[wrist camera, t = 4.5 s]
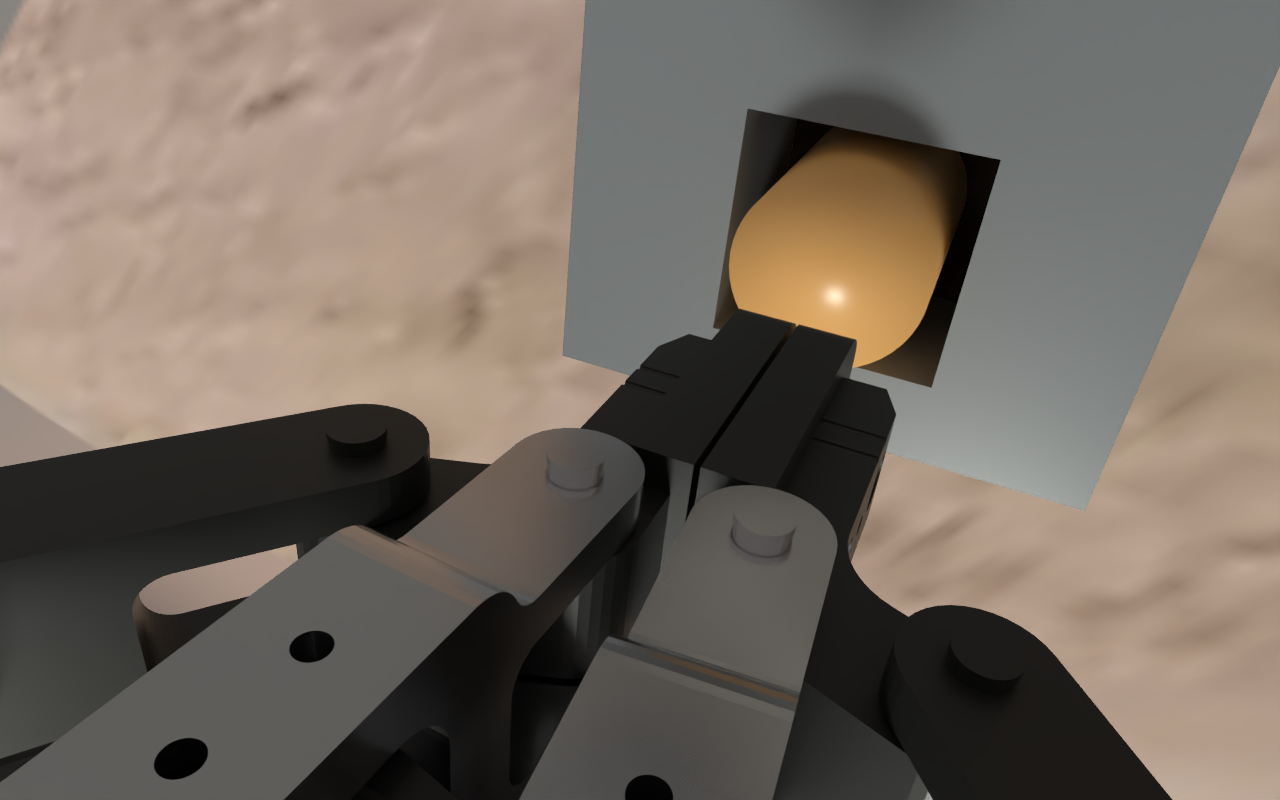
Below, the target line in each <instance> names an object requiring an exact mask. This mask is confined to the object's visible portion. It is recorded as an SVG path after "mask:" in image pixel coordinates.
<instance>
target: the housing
mask: <svg viewBox="0 0 1280 800" xmlns="http://www.w3.org/2000/svg"><path fill="white" fill-rule="evenodd" d="M1279 66H1280V0H586V2H585V17H584V33H583V48H582V64H581V79H580V94H579V110H578V125H577V141H576V156H575V171H574V187H573V202H572V218H571V233H570V249H569V264H568V279H567V295H566V310H565V326H564V341H563V356H566V357H570V358H573V359H576V360H580V361H583V362H586V363H590V364H593V365H596V366H600V367H603V368H607V369H610V370H613V371H617V372H620V373H623V374H627V375H631V374H632V373H633V372H634V371H635V370H636V369H640V365H641V364H642V363H643V362H644V361H645V360H646V359H647V358H648V356H649V355H650V354H651V353H652V352H653V351H654V350H655V349H656V348H657V347H658V346H660V345H662V344H665V343H667V342H670V341H672V340H675V339H677V338H680V337H683V336H685V335H688V334H692V335H695V336H699V337H702V338H706V339H709V340H712V339H713V338H714V336H715V335H716V334H717V333H718V332H719V331H720V329H721V328H722V327H723V326H724V325H725V323H726V322H727V321H728V320H729V319H730V318H731V316H732V315H733V314H734V313H735V312H736V311H737V310H738V309H739V308H738V306H737V304H736V301H735V299H734V295H733V292H732V289H731V283H730V277H729V260H730V251H731V247H732V242H733V239H734V237H735V234H736V231H737V229H738V227H739V225H740V223H741V222H742V220H743V218H744V217H745V215H746V214H747V213H748V211H749V210H750V209H751V208H752V207H753V206H754V205H755V204H756V203H757V202H758V201H759V200H760V199H761V198H762V197H763V196H764V195H765V194H766V193H767V192H768V191H769V190H770V189H771V188H772V187H773V186H774V185H775V184H776V183H777V182H778V181H779V180H780V179H781V178H782V177H783V176H784V175H785V174H786V173H787V172H788V168H789V163H790V157H791V152H792V146H793V141H794V136H795V130H796V125H797V119H802V120H807V121H812V122H817V123H822V124H827V125H832V126H836V127H841V128H846V129H851V130H856V131H861V132H866V133H871V134H876V135H881V136H886V137H890V138H895V139H900V140H905V141H910V142H915V143H920V144H925V145H930V146H935V147H940V148H945V149H949V150H954V151H959V152H964V153H969V154H974V155H979V156H984V157H989V158H994V159H999V160H1001V161H1000V165H999V168H998V171H997V175H996V178H995V181H994V184H993V188H992V191H991V194H990V198H989V201H988V204H987V207H986V211H985V214H984V217H983V221H982V224H981V227H980V230H979V234H978V237H977V240H976V244H975V247H974V250H973V253H972V257H971V260H970V263H969V266H968V270H967V273H966V276H965V280H964V283H963V286H962V289H961V293H960V296H959V299H958V303H957V302H953V301H949V300H945V299H941V298H937V297H933V296H931V298H930V301H929V304H928V306H927V309H926V312H925V314H924V316H923V318H922V320H921V322H920V324H919V325H918V327H917V328H916V330H915V331H914V332H913V334H912V335H911V336H910V337H909V338H908V339H907V340H906V341H905V342H904V343H903V344H902V345H901V346H900V347H899V348H897V349H896V350H895V351H893V352H892V353H890V354H889V355H887V356H885V357H883V358H882V359H880V360H877V361H875V362H872V363H870V364H867V365H863V366H859V367H854V368H852V371H851V375H850V379H852V380H856V381H859V382H863V383H866V384H870V385H874V386H877V387H881V388H884V389H887V391H888V394H889V396H890V399H891V402H892V404H893V407H894V410H895V412H896V418H895V421H894V425H893V428H892V432H891V435H890V439H889V443H888V446H887V450H886V452H888V453H892V454H895V455H898V456H902V457H905V458H908V459H912V460H915V461H918V462H922V463H925V464H929V465H932V466H935V467H939V468H942V469H945V470H949V471H952V472H955V473H959V474H962V475H965V476H969V477H972V478H976V479H979V480H982V481H986V482H989V483H992V484H996V485H999V486H1002V487H1006V488H1009V489H1012V490H1016V491H1019V492H1022V493H1026V494H1029V495H1033V496H1036V497H1039V498H1043V499H1046V500H1049V501H1053V502H1056V503H1059V504H1063V505H1066V506H1069V507H1073V508H1076V509H1080V510H1083V511H1085V509H1086V507H1087V504H1088V502H1089V500H1090V497H1091V495H1092V493H1093V491H1094V488H1095V486H1096V484H1097V482H1098V479H1099V477H1100V475H1101V472H1102V470H1103V468H1104V466H1105V463H1106V461H1107V459H1108V456H1109V454H1110V452H1111V450H1112V447H1113V445H1114V443H1115V440H1116V438H1117V436H1118V434H1119V431H1120V429H1121V427H1122V425H1123V422H1124V420H1125V418H1126V415H1127V413H1128V411H1129V409H1130V406H1131V404H1132V402H1133V399H1134V397H1135V395H1136V393H1137V390H1138V388H1139V386H1140V383H1141V381H1142V379H1143V377H1144V374H1145V372H1146V370H1147V367H1148V365H1149V363H1150V361H1151V358H1152V356H1153V354H1154V352H1155V349H1156V347H1157V345H1158V342H1159V340H1160V338H1161V336H1162V333H1163V331H1164V329H1165V326H1166V324H1167V322H1168V320H1169V317H1170V315H1171V313H1172V310H1173V308H1174V306H1175V304H1176V301H1177V299H1178V297H1179V295H1180V292H1181V290H1182V288H1183V285H1184V283H1185V281H1186V279H1187V276H1188V274H1189V272H1190V269H1191V267H1192V265H1193V263H1194V260H1195V258H1196V256H1197V253H1198V251H1199V249H1200V247H1201V244H1202V242H1203V240H1204V237H1205V235H1206V233H1207V231H1208V228H1209V226H1210V224H1211V222H1212V219H1213V217H1214V215H1215V212H1216V210H1217V208H1218V206H1219V203H1220V201H1221V199H1222V196H1223V194H1224V192H1225V190H1226V187H1227V185H1228V183H1229V180H1230V178H1231V176H1232V174H1233V171H1234V169H1235V167H1236V164H1237V162H1238V160H1239V158H1240V155H1241V153H1242V151H1243V149H1244V146H1245V144H1246V142H1247V139H1248V137H1249V135H1250V133H1251V130H1252V128H1253V126H1254V123H1255V121H1256V119H1257V117H1258V114H1259V112H1260V110H1261V107H1262V105H1263V103H1264V101H1265V98H1266V96H1267V94H1268V92H1269V89H1270V87H1271V85H1272V82H1273V80H1274V78H1275V76H1276V73H1277V71H1278V69H1279Z"/></svg>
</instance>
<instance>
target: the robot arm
mask: <svg viewBox="0 0 1280 800" xmlns="http://www.w3.org/2000/svg"><path fill="white" fill-rule="evenodd" d="M856 348H857V340H856V339H852V338H848V337H845V336H841V335H837V334H833V333H830V332H826V331H822V330H819V329H815V328H811V327H807V326H804V325H800V324H799V325H798V326H797V327H796V324H795V323H792V322H788V321H784V320H781V319H777V318H773V317H769V316H766V315H762V314H758V313H754V312H751V311H747V310H743V309H738V310H737V311H736V312H735V313H734V314H733V315H732V316H731V318H730V319H729V320H728V321H727V322H726V323H725V325H724V326H723V327H722V328H721V329H720V331H719V332H718V333H717V334H716V335H715V336H714V338H713V339H712V340H709V339H706V338H702V337H699V336H695V335H692V334H688V335H685V336H683V337H680V338H677V339H675V340H672V341H670V342H667V343H665V344H662V345H660V346H658V347H657V348H656V349H655V350H654V351H653V352H652V353H651V354H650V355H649V356H648V358H647V359H646V360H645V361H644V362H643V363H642V364H641V365H640V369H636V370H635V371H634V372H633V373H632V374H631V375H630V377H629V378H628V379H627V380H626V382H625V385H621V386H620V387H619V388H618V389H617V390H616V391H615V392H614V393H613V395H612V396H611V397H610V398H609V399H608V400H607V401H606V402H605V403H604V404H603V405H602V406H601V407H600V408H599V409H598V410H597V411H596V412H595V414H594V415H593V416H592V417H591V418H590V419H589V420H588V421H587V422H586V423H585V424H584V425H583V426H582V427H581V428H580V429H579V428H561V429H552V430H547V431H542V432H539V433H536V434H533V435H531V436H529V437H527V438H524V439H523V440H521V441H520V442H518V443H517V444H516V445H514V446H513V447H512V448H511V449H510V450H508V451H507V452H506V453H505V454H503V455H502V456H501V457H500V458H499V459H497V460H496V461H495V462H494V463H492V464H479V463H470V462H461V461H453V460H444V459H435V458H430V442H429V433H428V431H427V428H426V427H425V426H424V424H423V423H422V422H421V421H420V420H419V419H417V418H416V417H415V416H413V415H411V414H409V413H408V412H405V411H403V410H400V409H397V408H393V407H389V406H383V405H376V404H353V405H345V406H339V407H333V408H327V409H322V410H316V411H311V412H305V413H300V414H294V415H288V416H283V417H277V418H272V419H266V420H261V421H255V422H249V423H244V424H238V425H233V426H227V427H222V428H216V429H210V430H205V431H199V432H194V433H188V434H183V435H177V436H171V437H166V438H160V439H155V440H149V441H144V442H138V443H132V444H127V445H121V446H116V447H110V448H105V449H99V450H94V451H88V452H82V453H77V454H72V455H66V456H60V457H55V458H49V459H43V460H38V461H32V462H27V463H21V464H16V465H10V466H4V467H0V800H1172V799H1171V798H1170V796H1169V795H1168V794H1167V793H1166V792H1165V790H1164V789H1163V788H1162V787H1161V785H1160V784H1159V783H1158V782H1157V780H1156V779H1155V778H1154V777H1153V776H1152V774H1151V773H1150V772H1149V771H1148V769H1147V768H1146V767H1145V766H1144V764H1143V763H1142V762H1141V761H1140V760H1139V758H1138V757H1137V756H1136V755H1135V753H1134V752H1133V751H1132V750H1131V748H1130V747H1129V746H1128V745H1127V744H1126V742H1125V741H1124V740H1123V739H1122V737H1121V736H1120V735H1119V734H1118V732H1117V731H1116V730H1115V729H1114V728H1113V726H1112V725H1111V724H1110V723H1109V721H1108V720H1107V719H1106V718H1105V716H1104V715H1103V714H1102V713H1101V712H1100V710H1099V709H1098V708H1097V707H1096V705H1095V704H1094V703H1093V702H1092V700H1091V699H1090V698H1089V697H1088V696H1087V694H1086V693H1085V692H1084V691H1083V689H1082V688H1081V687H1080V686H1079V684H1078V683H1077V682H1076V681H1075V680H1074V678H1073V677H1072V676H1071V675H1070V673H1069V672H1068V671H1067V670H1066V668H1065V667H1064V666H1063V665H1062V664H1061V662H1060V661H1059V660H1058V659H1057V657H1056V656H1055V655H1054V654H1053V653H1052V652H1051V651H1050V650H1049V649H1048V647H1047V646H1046V645H1044V644H1043V643H1042V642H1041V641H1040V640H1039V639H1037V638H1036V637H1035V636H1034V635H1032V634H1031V633H1030V632H1028V631H1027V630H1025V629H1024V628H1022V627H1021V626H1019V625H1017V624H1015V623H1013V622H1011V621H1010V620H1008V619H1005V618H1003V617H1001V616H998V615H996V614H993V613H990V612H987V611H984V610H981V609H976V608H971V607H966V606H955V605H944V606H935V607H930V608H925V609H923V610H920V611H918V612H916V613H914V614H913V615H911V616H910V617H908V616H906V615H905V614H903V613H901V612H900V611H898V610H896V609H895V608H893V607H892V606H890V605H889V604H887V603H886V602H885V601H883V600H882V599H880V598H879V597H878V596H877V595H876V594H874V593H873V592H872V591H871V590H870V589H869V588H868V587H867V586H866V585H865V584H864V582H863V581H862V580H861V579H860V577H859V576H858V574H857V573H856V572H855V570H854V568H853V566H852V564H851V560H852V557H853V555H854V552H855V549H856V547H857V543H858V541H859V539H860V536H861V533H862V531H863V528H864V525H865V522H866V520H867V517H868V514H869V511H870V507H871V503H872V500H873V496H874V493H875V489H876V486H877V482H878V478H879V475H880V471H881V468H882V464H883V461H884V457H885V453H886V450H887V446H888V443H889V439H890V435H891V432H892V428H893V425H894V421H895V418H896V412H895V410H894V407H893V404H892V402H891V399H890V396H889V394H888V391H887V389H884V388H881V387H877V386H874V385H870V384H866V383H863V382H859V381H856V380H852V379H850V375H851V371H852V367H853V362H854V358H855V353H856ZM294 544H296V546H297V554H298V560H297V561H296V562H294V563H293V564H292V565H290V566H289V567H288V568H287V569H285V570H284V571H282V572H281V573H280V574H278V575H277V576H276V577H274V578H273V579H272V580H270V581H269V582H268V583H267V584H265V585H264V586H262V587H261V588H260V589H258V590H257V591H256V592H254V593H253V594H252V595H251V596H248V597H244V598H240V599H237V600H233V601H229V602H225V603H221V604H217V605H213V606H210V607H206V608H202V609H198V610H194V611H190V612H186V613H182V614H176V615H164V614H158V613H155V612H153V611H151V610H149V609H148V608H146V607H145V606H144V605H143V604H142V602H141V600H140V597H139V592H140V591H141V590H142V589H143V588H144V587H146V586H147V585H148V584H149V583H151V582H153V581H154V580H156V579H158V578H160V577H162V576H165V575H169V574H172V573H176V572H180V571H185V570H189V569H193V568H197V567H201V566H206V565H210V564H214V563H218V562H222V561H227V560H231V559H235V558H239V557H243V556H247V555H252V554H256V553H260V552H264V551H268V550H273V549H277V548H281V547H285V546H289V545H294Z"/></svg>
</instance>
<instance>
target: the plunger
mask: <svg viewBox="0 0 1280 800" xmlns="http://www.w3.org/2000/svg"><path fill="white" fill-rule="evenodd" d="M966 195H967V177H966V172H965V167H964V164H963V161H962V158H961V155H960V154H959V152H958V151H954V150H949V149H945V148H940V147H935V146H930V145H925V144H920V143H915V142H910V141H905V140H900V139H895V138H890V137H886V136H881V135H876V134H871V133H866V132H861V131H856V130H851V129H846V128H841V127H836V126H834V127H833V128H832V129H830V130H829V131H828V132H827V133H826V134H825V135H824V136H823V137H822V138H821V139H820V140H819V141H818V142H817V143H816V144H815V145H814V146H813V147H812V148H811V149H810V150H809V151H808V152H807V153H806V154H805V155H804V156H803V157H802V158H801V159H800V160H799V161H798V162H797V163H796V164H795V165H794V166H793V167H792V168H791V169H790V170H789V171H788V172H787V173H786V174H785V175H784V176H783V177H782V178H781V179H780V180H779V181H778V182H777V183H776V184H775V185H774V186H773V187H772V188H771V189H770V190H769V191H768V192H767V193H766V194H765V195H764V196H763V197H762V198H761V199H760V200H759V201H758V202H757V203H756V204H755V205H754V206H753V207H752V208H751V209H750V210H749V211H748V213H747V214H746V215H745V217H744V218H743V220H742V222H741V223H740V225H739V227H738V229H737V231H736V234H735V237H734V239H733V242H732V247H731V251H730V260H729V277H730V283H731V289H732V292H733V295H734V299H735V301H736V304H737V306H738V308H739V309H743V310H747V311H751V312H754V313H758V314H762V315H766V316H769V317H773V318H777V319H781V320H784V321H788V322H792V323H795V324H796V327H797V326H798V325H799V324H800V325H804V326H807V327H811V328H815V329H819V330H822V331H826V332H830V333H833V334H837V335H841V336H845V337H848V338H852V339H856V340H857V348H856V353H855V358H854V362H853V367H852V368H854V367H859V366H863V365H867V364H870V363H872V362H875V361H877V360H880V359H882V358H883V357H885V356H887V355H889V354H890V353H892V352H893V351H895V350H896V349H897V348H899V347H900V346H901V345H902V344H903V343H904V342H905V341H906V340H907V339H908V338H909V337H910V336H911V335H912V334H913V332H914V331H915V330H916V328H917V327H918V325H919V324H920V322H921V320H922V318H923V316H924V314H925V312H926V309H927V306H928V304H929V301H930V298H931V296H932V293H933V290H934V288H935V285H936V282H937V279H938V277H939V274H940V271H941V269H942V266H943V263H944V261H945V258H946V255H947V253H948V250H949V247H950V245H951V242H952V239H953V237H954V234H955V231H956V229H957V226H958V223H959V221H960V218H961V215H962V212H963V210H964V206H965V202H966Z"/></svg>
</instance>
